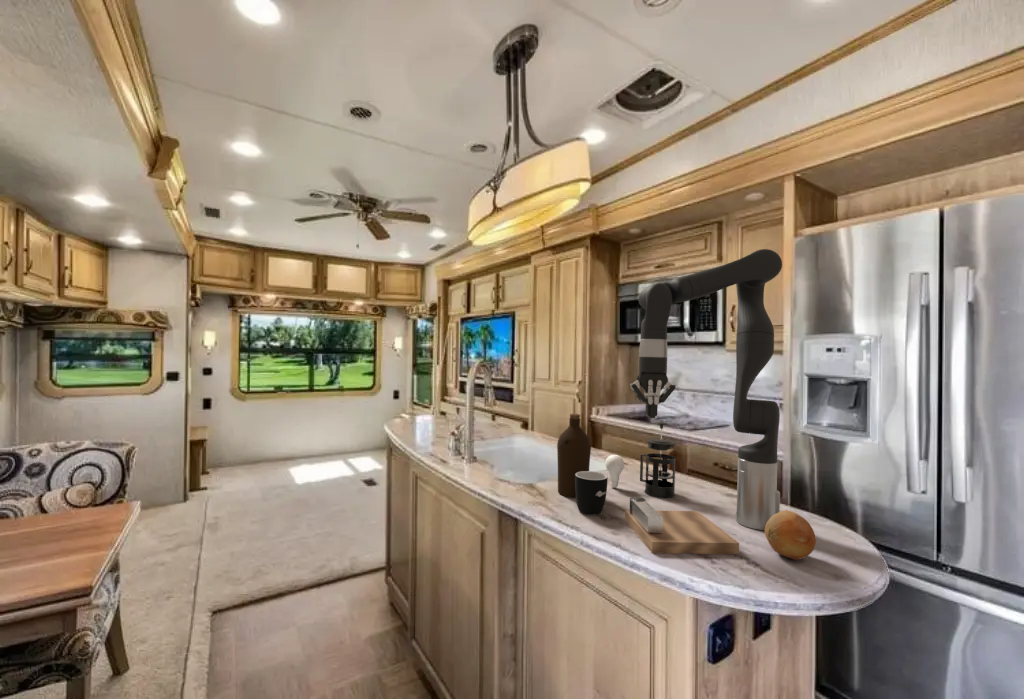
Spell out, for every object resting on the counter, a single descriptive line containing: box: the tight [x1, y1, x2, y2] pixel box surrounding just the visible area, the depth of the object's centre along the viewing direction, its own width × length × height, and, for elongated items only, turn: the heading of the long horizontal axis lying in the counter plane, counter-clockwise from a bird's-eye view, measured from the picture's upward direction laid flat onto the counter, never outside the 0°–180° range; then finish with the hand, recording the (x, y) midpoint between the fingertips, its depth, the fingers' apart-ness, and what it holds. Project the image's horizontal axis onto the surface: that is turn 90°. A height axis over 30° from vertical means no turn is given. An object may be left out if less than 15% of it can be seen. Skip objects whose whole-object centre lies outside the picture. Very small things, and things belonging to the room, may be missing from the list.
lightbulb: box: [605, 454, 625, 489], centre depth 147 cm, size 6×6×11 cm
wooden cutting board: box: [624, 509, 740, 555], centre depth 109 cm, size 20×20×2 cm
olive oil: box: [556, 413, 592, 498], centre depth 140 cm, size 11×11×25 cm
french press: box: [639, 421, 677, 499], centre depth 143 cm, size 12×9×23 cm
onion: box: [764, 509, 817, 561], centre depth 99 cm, size 10×10×10 cm
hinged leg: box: [628, 496, 663, 533], centre depth 111 cm, size 15×4×4 cm, turn 2°
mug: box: [575, 470, 609, 516], centre depth 125 cm, size 12×9×10 cm
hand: (651, 417), depth 123 cm, fingers closed
